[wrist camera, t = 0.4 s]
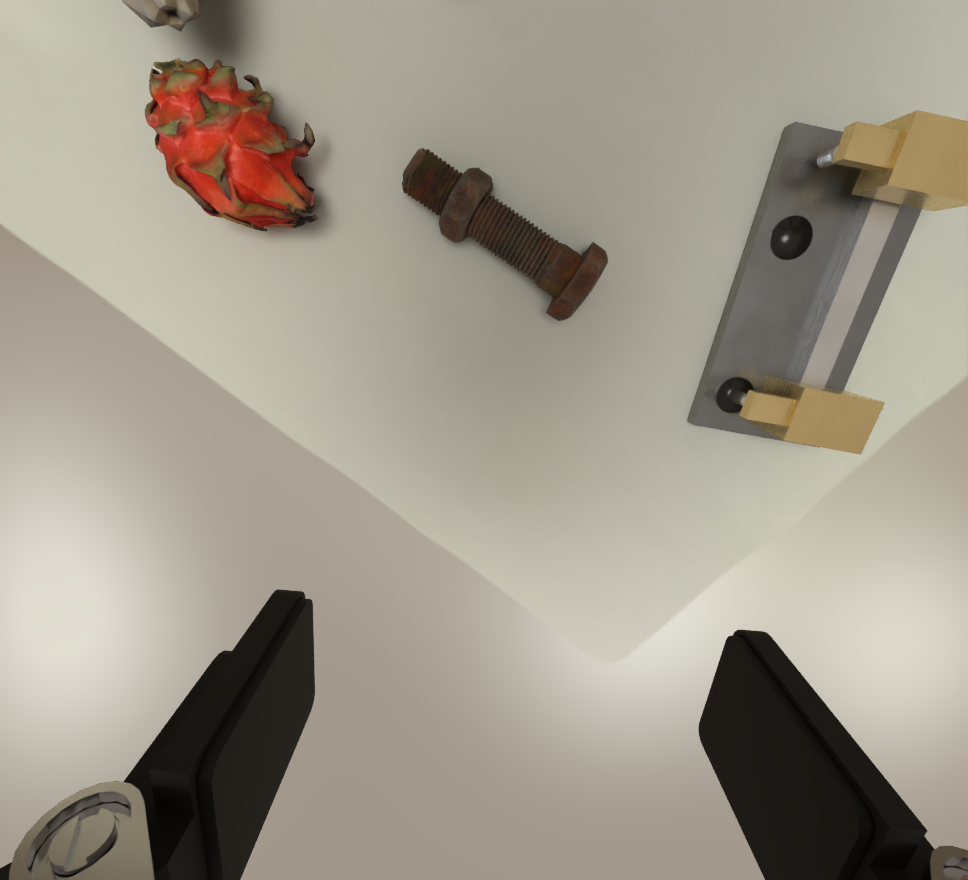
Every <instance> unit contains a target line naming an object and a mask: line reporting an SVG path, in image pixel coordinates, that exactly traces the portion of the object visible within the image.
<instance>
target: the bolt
mask: <svg viewBox="0 0 968 880" xmlns="http://www.w3.org/2000/svg"><path fill="white" fill-rule="evenodd" d="M402 186H403V191H404V193H408V195H409V196H412V198H415V199H416V201H420V203H421V204H423V203H424V206H425V207H427V206H428V209H432V212H436V214H437V215H439V214H440V220H439V226H440V230H441V234H443V235H444V236H446V237H447V238H448V239H450V240H451V241H453V242H459V241H463V240H464V239H465V238H466V237H467V235H468V237H469V236H472V239H475V238H476V242H478V241H480V245H481V244H483V247H484V248H485V247H487V248H488V250H490V249H491V252H492V253H493V252H495V255H498V254H499V258H501V257H503V261H504V260H507V263H509V262H510V265H511V266H512V265H514V268H515V269H516V268H517V267H518V271H520V270H522V274H524V273H525V272H526V276H528V275H529V279H532V278H533V281H534V282H535V283H536V284H537V285H538V286H539V287H540V288H541V289H543V290H544V291H546V292H547V293H549V294H550V295H551V296H553V299H552V301H551V303H550V306H549V308H548V310H547V313H548V314H549V315H551V316H552V317H554V318H555V319H557V320H558V321H560V320H565V319H567V318H569V317H570V316H571V315H572V314H573V313H574V312H575V311H576V310H577V308H578V307H579V306H580V305H581V303H582V302H583V301H584V300H585V298H586V297H587V296H588V294H589V293H590V292H591V290H592V289H593V287H594V286H595V284H596V282H597V281H598V279H599V277H600V276H601V274H602V272H603V270H604V268H605V266H606V265H607V262H608V258H607V254H606V251H605V250H603V249H602V248H601V247H599V246H598V245H597V244H595V243H594V242H593V243H592V244H591V245H590V246H589V247H588V249H587V250H586V251H585V252H584V253H583V255H582V256H581V255H580V254H578V253H577V252H575V251H574V250H572V249H571V248H570V247H568V246H567V245H565V244H561V243H558V241H557V240H556V241H554V238H550V235H547V236H546V232H544V233H542V229H540V230H538V226H537V227H534V224H533V223H532V224H530V221H527V222H526V218H524V219H522V215H521V216H519V217H518V213H516V214H514V210H512V211H511V207H509V208H507V206H506V205H503V204H502V202H500V203H499V202H498V199H496V200H495V199H494V196H492V197H491V195H490V194H491V192H492V189H493V183H492V178H491V177H490V176H489V175H487V174H486V173H485V172H483V171H482V170H480V169H479V168H470V169H468V170H466V171H465V172H464V174H463V175H462V173H459V174H458V170H455V171H454V167H450V165H449V164H447V165H446V162H445V161H443V162H442V159H441V158H439V159H438V157H437V155H435V156H434V153H433V152H431V153H430V150H429V149H427V150H424V149H423V148H422V149H419V150H418V151H417V152H416V154H415V155H414V157H413V158H412V159H411V161H410V163H409V164H408V166H407V167H406V169H405V170H404V173H403V182H402ZM553 241H554V242H553Z"/></svg>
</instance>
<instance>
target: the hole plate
mask: <svg viewBox="0 0 968 880" xmlns="http://www.w3.org/2000/svg"><path fill="white" fill-rule="evenodd" d="M842 135H843V132H840V131H835V130H831V129H826V128H821V127H817V126H812V125H807V124H803V123H798V122H794V123H792V124H791V125H789V126H787V127H785V128H784V131H783V134H782V137H781V140H780V143H779V146H778V149H777V152H776V155H775V158H774V161H773V164H772V168H771V171H770V174H769V177H768V180H767V183H766V186H765V189H764V192H763V195H762V198H761V201H760V204H759V207H758V210H757V213H756V216H755V219H754V222H753V225H752V228H751V231H750V234H749V237H748V240H747V243H746V246H745V249H744V252H743V255H742V258H741V261H740V264H739V267H738V270H737V273H736V276H735V279H734V282H733V285H732V288H731V291H730V294H729V297H728V300H727V303H726V306H725V309H724V312H723V315H722V318H721V321H720V324H719V327H718V330H717V333H716V336H715V339H714V342H713V345H712V348H711V351H710V354H709V357H708V361H707V364H706V367H705V370H704V373H703V376H702V379H701V382H700V385H699V388H698V391H697V394H696V397H695V400H694V403H693V406H692V409H691V412H690V415H689V418H688V421H689V422H690V423H692V424H693V425H698V426H703V427H709V428H714V429H720V430H726V431H731V432H737V433H742V434H748V435H753V436H759V437H765V438H770V439H776V440H781V441H787V442H792V443H798V444H804V445H809V446H815V447H823V448H828V449H834V450H839V451H845V452H850V453H856V454H861V453H862V451H863V449H864V446H865V444H866V442H867V440H868V438H869V436H870V434H871V431H872V429H873V427H874V425H875V423H876V421H877V419H878V416H879V414H880V412H881V410H882V408H883V406H884V404H885V402H881V401H878V400H874V399H871V398H867V397H864V396H860V395H857V394H854V393H850V392H847V391H843V390H844V388H845V385H846V383H847V381H848V378H849V376H850V374H851V372H852V369H853V367H854V365H855V362H856V360H857V358H858V355H859V353H860V351H861V348H862V346H863V344H864V341H865V339H866V337H867V335H868V332H869V330H870V328H871V325H872V323H873V321H874V318H875V316H876V314H877V311H878V309H879V307H880V305H881V302H882V300H883V298H884V295H885V293H886V291H887V288H888V286H889V284H890V281H891V279H892V277H893V274H894V272H895V270H896V268H897V265H898V263H899V261H900V258H901V256H902V254H903V251H904V249H905V247H906V244H907V242H908V240H909V238H910V235H911V233H912V231H913V228H914V226H915V224H916V221H917V219H918V217H919V214H920V212H921V210H922V209H921V208H916V207H911V206H906V205H901V204H896V203H892V202H887V201H882V200H877V199H872V198H867V197H863V196H858V195H853V194H851V193H852V191H853V188H854V186H855V183H856V180H857V178H858V175H859V173H860V170H861V169H859V168H854V167H849V166H844V165H839V164H833V165H830V166H828V167H825V168H820V167H819V166H818V165H817V158H818V156H819V154H821V153H822V152H824V151H827V150H829V149H831V148H834V147H836V146H839V143H840V140H841V137H842Z"/></svg>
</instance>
